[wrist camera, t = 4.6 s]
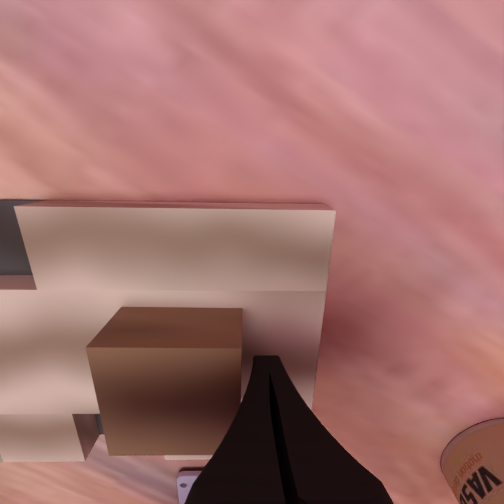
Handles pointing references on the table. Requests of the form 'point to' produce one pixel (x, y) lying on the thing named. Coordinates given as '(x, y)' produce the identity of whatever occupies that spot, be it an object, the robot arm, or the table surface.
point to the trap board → (144, 298)
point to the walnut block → (167, 379)
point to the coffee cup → (476, 464)
